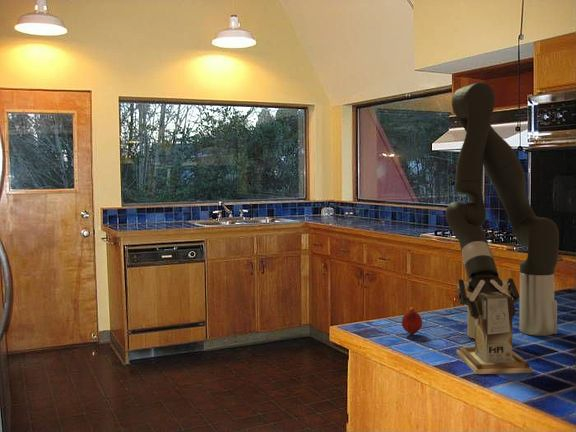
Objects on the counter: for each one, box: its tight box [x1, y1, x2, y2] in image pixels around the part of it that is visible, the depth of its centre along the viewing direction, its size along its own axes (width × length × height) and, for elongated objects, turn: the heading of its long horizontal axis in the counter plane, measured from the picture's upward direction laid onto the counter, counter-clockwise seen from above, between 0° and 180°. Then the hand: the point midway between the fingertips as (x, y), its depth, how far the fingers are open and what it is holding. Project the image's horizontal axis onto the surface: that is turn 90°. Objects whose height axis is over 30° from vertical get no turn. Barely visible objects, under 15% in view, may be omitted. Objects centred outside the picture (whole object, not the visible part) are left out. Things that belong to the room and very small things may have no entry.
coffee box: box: [474, 291, 513, 363], centre depth 149 cm, size 9×6×16 cm
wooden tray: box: [456, 345, 533, 375], centre depth 150 cm, size 13×16×2 cm
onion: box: [401, 306, 423, 336], centre depth 176 cm, size 6×6×8 cm
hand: (494, 317), depth 148 cm, fingers open, 8 cm apart
